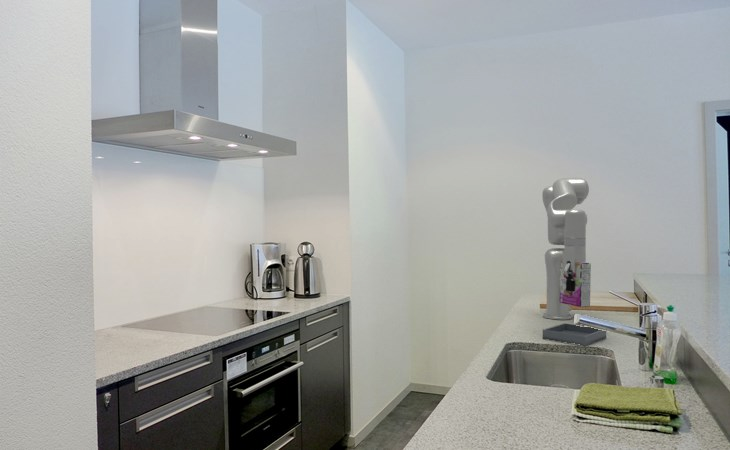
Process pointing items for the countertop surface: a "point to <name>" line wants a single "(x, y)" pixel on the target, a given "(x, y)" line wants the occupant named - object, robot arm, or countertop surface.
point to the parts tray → (574, 334)
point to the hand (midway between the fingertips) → (574, 289)
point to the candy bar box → (576, 286)
